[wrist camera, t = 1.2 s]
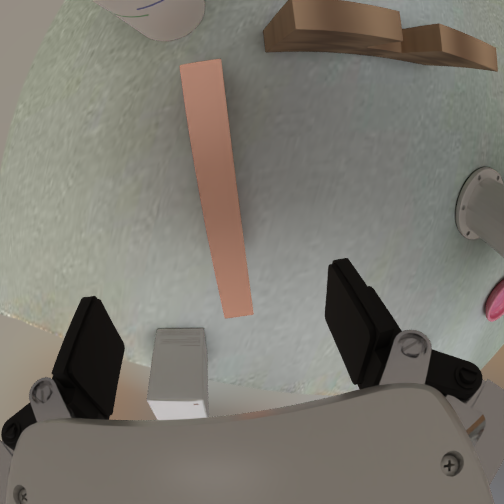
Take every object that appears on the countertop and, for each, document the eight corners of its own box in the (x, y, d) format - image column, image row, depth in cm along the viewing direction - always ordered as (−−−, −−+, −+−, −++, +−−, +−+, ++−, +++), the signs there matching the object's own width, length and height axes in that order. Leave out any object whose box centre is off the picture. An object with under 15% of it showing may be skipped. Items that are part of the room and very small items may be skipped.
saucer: (484, 289, 48) (492, 297, 45) (516, 264, 46) (524, 271, 43) (478, 321, 54) (484, 329, 51) (508, 297, 52) (515, 305, 50)
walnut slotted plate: (424, 47, 23) (495, 47, 13) (425, 65, 25) (497, 71, 15) (263, 30, 23) (291, -4, 12) (265, 52, 24) (295, 29, 14)
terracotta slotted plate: (194, 76, 24) (179, 65, 14) (219, 72, 25) (220, 58, 14) (221, 248, 35) (225, 318, 25) (241, 245, 35) (253, 314, 25)
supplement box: (155, 327, 41) (145, 399, 30) (204, 327, 42) (205, 400, 31) (164, 357, 45) (158, 424, 34) (208, 357, 45) (210, 425, 35)
